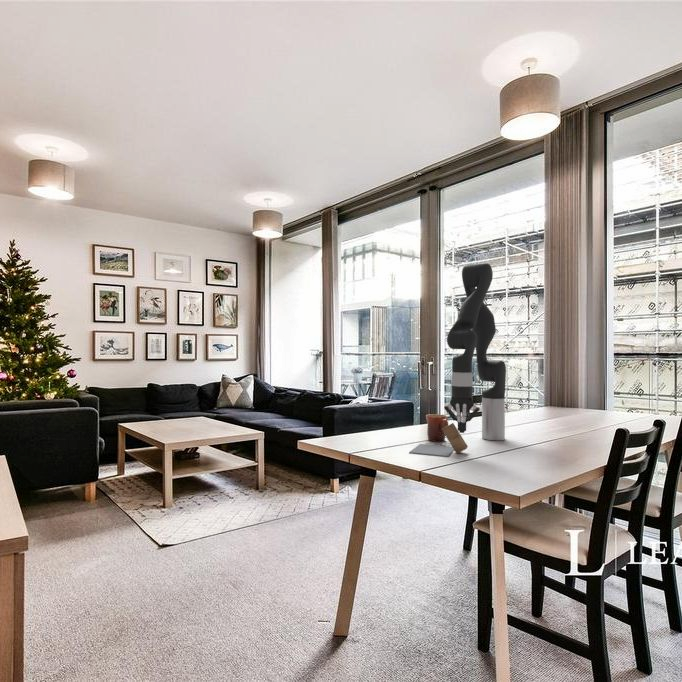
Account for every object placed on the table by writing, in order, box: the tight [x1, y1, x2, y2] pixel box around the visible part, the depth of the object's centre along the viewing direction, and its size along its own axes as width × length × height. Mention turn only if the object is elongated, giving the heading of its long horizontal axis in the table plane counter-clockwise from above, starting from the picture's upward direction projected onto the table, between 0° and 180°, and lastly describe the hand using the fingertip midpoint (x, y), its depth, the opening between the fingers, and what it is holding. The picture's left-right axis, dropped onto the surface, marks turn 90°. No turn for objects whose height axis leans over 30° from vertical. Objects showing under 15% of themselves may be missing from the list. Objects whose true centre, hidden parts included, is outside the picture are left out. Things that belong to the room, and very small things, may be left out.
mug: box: [425, 413, 449, 443], centre depth 191 cm, size 12×9×10 cm
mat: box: [408, 443, 455, 458], centre depth 173 cm, size 16×14×1 cm
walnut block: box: [442, 422, 469, 455], centre depth 170 cm, size 4×4×10 cm
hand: (461, 432), depth 169 cm, fingers closed
